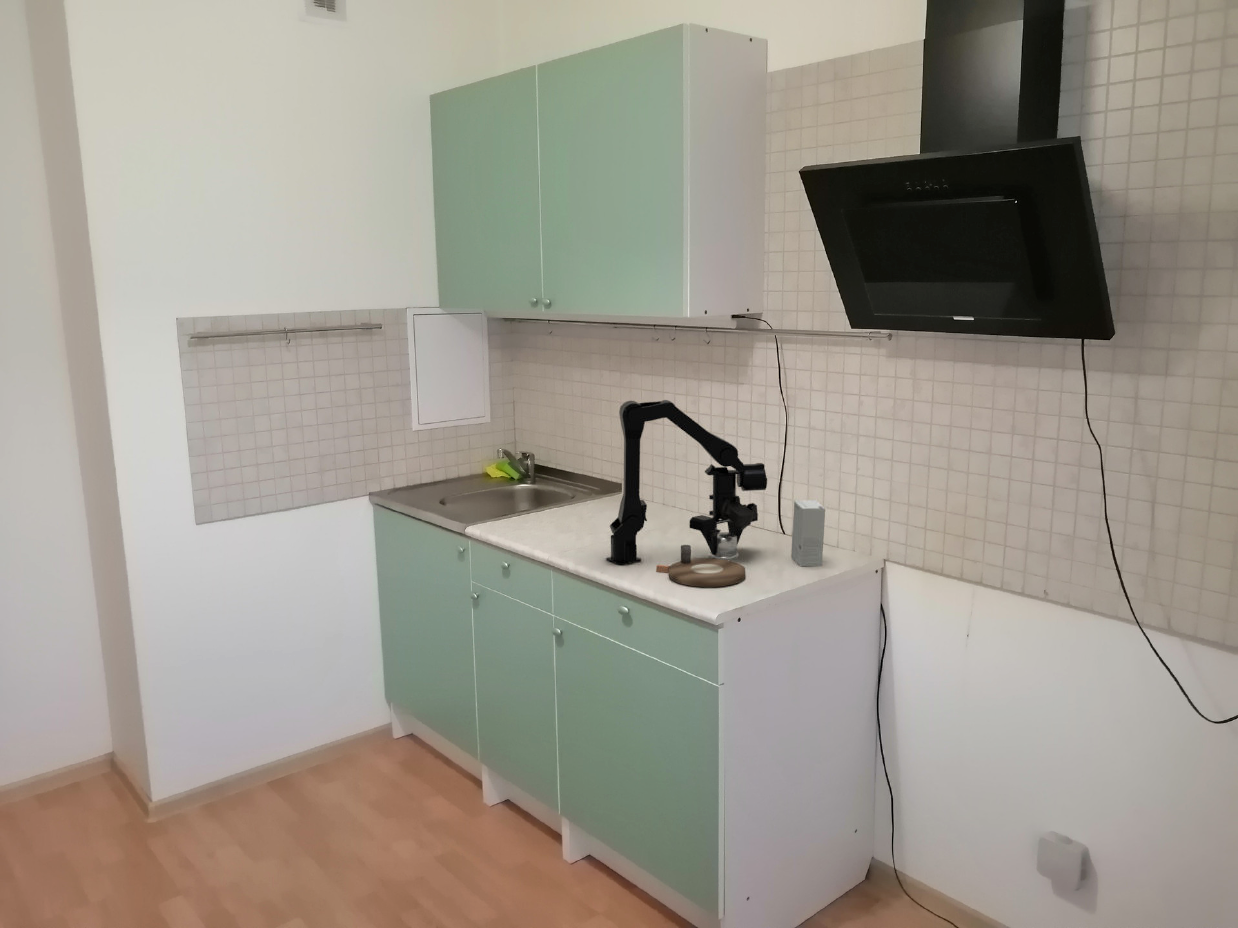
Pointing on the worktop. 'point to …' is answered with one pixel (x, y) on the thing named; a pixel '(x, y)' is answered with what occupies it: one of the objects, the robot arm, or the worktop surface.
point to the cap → (726, 546)
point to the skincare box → (808, 533)
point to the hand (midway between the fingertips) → (723, 552)
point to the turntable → (705, 571)
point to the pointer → (662, 568)
